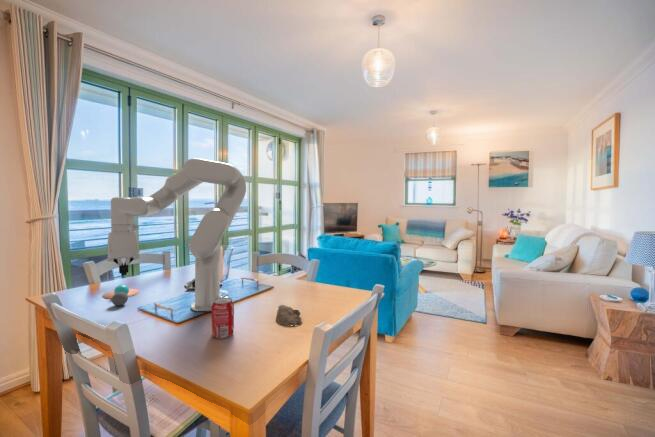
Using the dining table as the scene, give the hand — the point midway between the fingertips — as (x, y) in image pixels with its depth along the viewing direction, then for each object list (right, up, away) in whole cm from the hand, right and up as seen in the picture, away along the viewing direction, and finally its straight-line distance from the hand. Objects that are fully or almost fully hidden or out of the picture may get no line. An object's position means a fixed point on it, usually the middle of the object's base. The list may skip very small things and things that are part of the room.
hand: (123, 274), depth 120 cm
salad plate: (+17, -13, +35) cm, 41 cm away
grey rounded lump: (-5, -11, +5) cm, 13 cm away
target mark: (-14, -12, +19) cm, 27 cm away
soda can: (+46, -17, -19) cm, 52 cm away
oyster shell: (+67, -17, -5) cm, 69 cm away
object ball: (-11, -10, +15) cm, 21 cm away
